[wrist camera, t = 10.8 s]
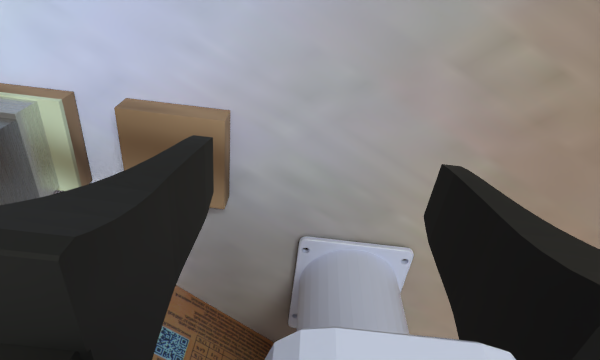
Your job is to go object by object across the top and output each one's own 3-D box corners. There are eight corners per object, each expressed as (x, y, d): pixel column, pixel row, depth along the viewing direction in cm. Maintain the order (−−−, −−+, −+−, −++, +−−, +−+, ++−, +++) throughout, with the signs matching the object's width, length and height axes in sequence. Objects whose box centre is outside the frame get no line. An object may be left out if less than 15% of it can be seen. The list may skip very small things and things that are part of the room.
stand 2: (229, 195, 26) (224, 209, 24) (138, 185, 25) (128, 198, 24) (230, 110, 22) (224, 120, 21) (126, 98, 22) (114, 107, 21)
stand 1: (92, 180, 25) (80, 192, 24) (-1, 169, 25) (-18, 181, 24) (73, 91, 22) (58, 101, 21) (-33, 79, 22) (-54, 87, 21)
